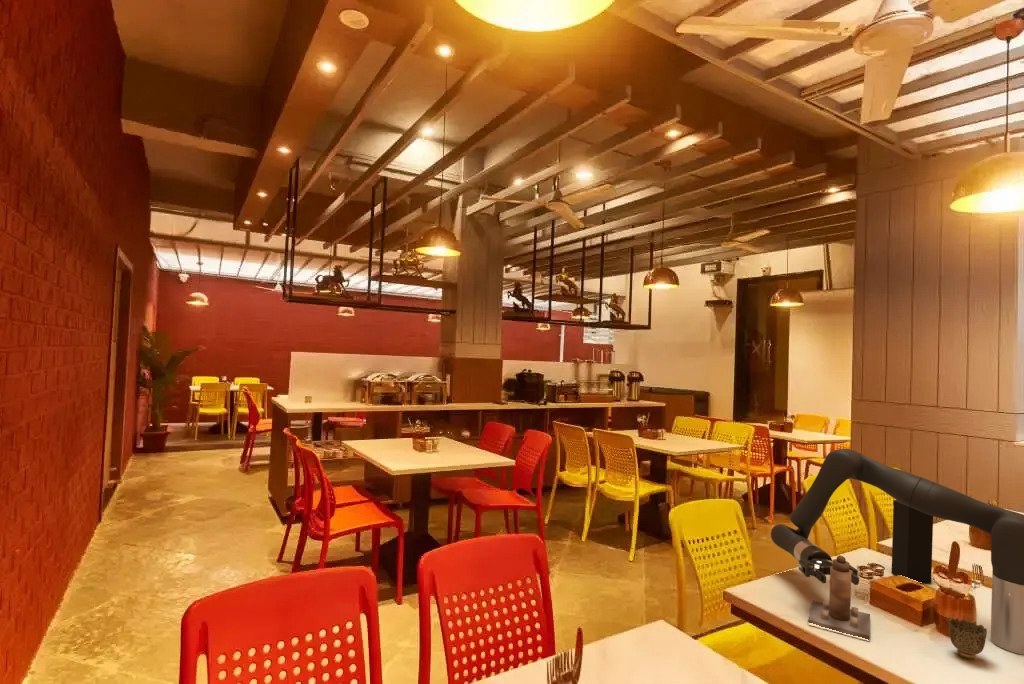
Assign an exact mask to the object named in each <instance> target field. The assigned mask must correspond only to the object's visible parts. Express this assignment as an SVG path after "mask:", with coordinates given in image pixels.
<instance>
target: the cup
mask: <svg viewBox="0 0 1024 684" xmlns="http://www.w3.org/2000/svg"><path fill="white" fill-rule="evenodd" d="M947 621H948V630H949V631H948V632H949V633H948V634H949V638H950V639H949V640H950V641H951V644H952V645H953V647H955V648H956V653H957V655H958V656H959V657H961V658H963V659H964V658H965V660H968V661H974V660H976V659H977V655H978V654H980V653H982V652H983V650H984V648H985V644H986V641H987V640H986V639H987V634H988V629H987V628H986V627H984V625H983V624H977V622H976V621H973V623H972V622H971V620H970V619H967V620H966V619H965V618H962V619H961V620H960V619H959V618H958V617H956V618H953V617H950V618H949V619H947Z"/></svg>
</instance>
